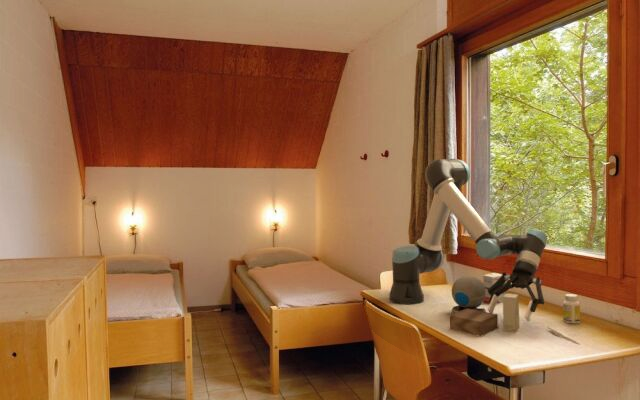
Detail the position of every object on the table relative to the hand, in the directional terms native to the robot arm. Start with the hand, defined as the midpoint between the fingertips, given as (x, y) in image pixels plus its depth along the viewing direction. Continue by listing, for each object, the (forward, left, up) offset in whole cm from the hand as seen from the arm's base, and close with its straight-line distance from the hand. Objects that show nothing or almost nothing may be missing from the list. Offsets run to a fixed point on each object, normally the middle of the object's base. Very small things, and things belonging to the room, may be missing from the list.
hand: (507, 315), depth 167 cm
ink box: (-22, +33, -6) cm, 40 cm away
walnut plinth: (-10, -6, -5) cm, 13 cm away
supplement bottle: (+12, +25, -6) cm, 29 cm away
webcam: (-21, +10, -6) cm, 24 cm away
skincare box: (0, +2, -6) cm, 6 cm away
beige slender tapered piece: (+16, +6, -6) cm, 18 cm away
